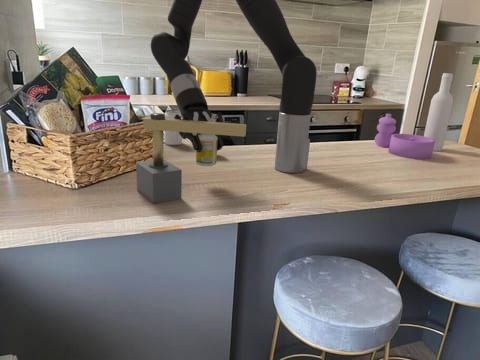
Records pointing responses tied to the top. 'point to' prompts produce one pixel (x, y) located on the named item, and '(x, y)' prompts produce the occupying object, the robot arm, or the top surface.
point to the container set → (402, 141)
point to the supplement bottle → (207, 150)
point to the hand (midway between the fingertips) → (210, 149)
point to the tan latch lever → (161, 124)
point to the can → (172, 136)
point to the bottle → (440, 113)
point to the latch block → (159, 181)
